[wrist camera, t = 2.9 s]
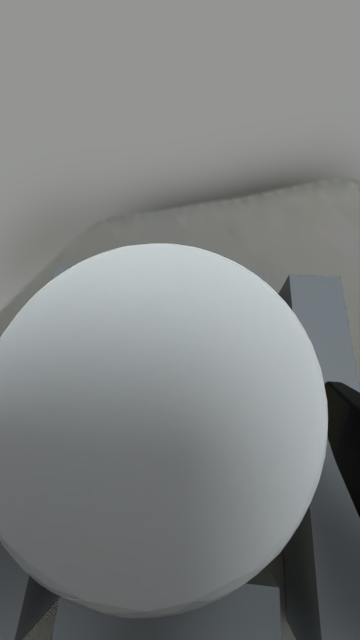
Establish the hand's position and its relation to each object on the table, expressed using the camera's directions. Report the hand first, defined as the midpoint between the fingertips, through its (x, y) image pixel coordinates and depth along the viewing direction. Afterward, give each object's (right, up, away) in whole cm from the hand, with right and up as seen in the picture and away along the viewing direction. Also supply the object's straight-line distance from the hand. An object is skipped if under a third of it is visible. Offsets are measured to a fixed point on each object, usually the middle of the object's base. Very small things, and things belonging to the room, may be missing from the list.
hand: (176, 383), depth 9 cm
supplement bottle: (0, -4, +7) cm, 8 cm away
